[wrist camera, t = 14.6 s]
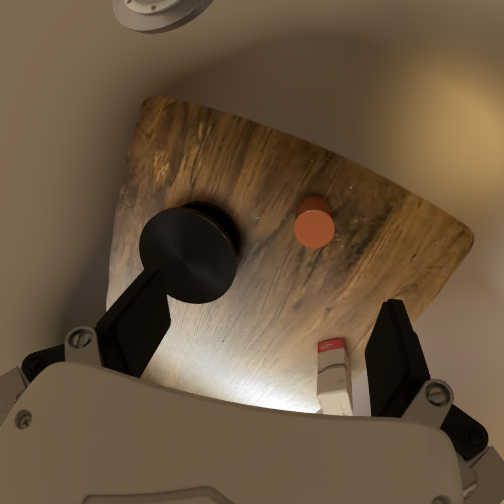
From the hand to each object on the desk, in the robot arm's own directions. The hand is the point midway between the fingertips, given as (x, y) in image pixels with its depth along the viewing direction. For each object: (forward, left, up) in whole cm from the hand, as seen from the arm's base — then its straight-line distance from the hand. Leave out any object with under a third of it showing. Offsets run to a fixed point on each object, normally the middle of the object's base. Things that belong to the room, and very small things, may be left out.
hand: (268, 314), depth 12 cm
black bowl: (+11, -14, -28) cm, 33 cm away
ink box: (+31, +10, -28) cm, 43 cm away
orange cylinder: (+5, +2, -28) cm, 29 cm away
